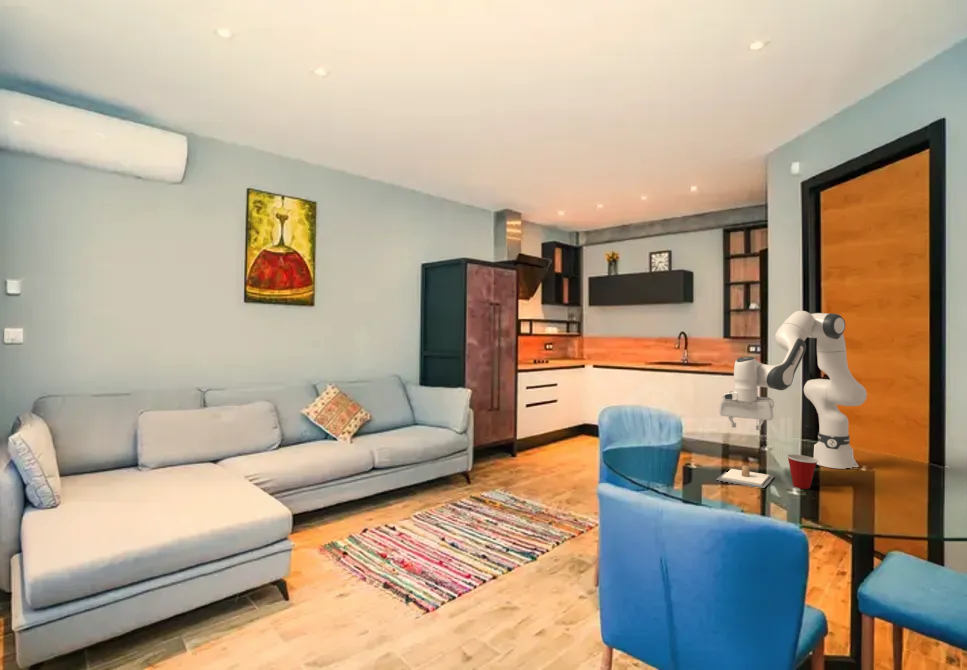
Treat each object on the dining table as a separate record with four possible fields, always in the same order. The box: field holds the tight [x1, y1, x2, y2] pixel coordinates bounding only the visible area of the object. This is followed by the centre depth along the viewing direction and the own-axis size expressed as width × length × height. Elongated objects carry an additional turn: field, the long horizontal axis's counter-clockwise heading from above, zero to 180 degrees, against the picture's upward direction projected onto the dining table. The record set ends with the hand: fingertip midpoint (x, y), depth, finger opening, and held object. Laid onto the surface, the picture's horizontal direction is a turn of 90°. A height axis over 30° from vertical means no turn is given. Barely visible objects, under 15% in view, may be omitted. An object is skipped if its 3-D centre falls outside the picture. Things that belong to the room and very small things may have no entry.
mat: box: [715, 468, 776, 489], centre depth 217 cm, size 20×18×1 cm
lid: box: [722, 464, 770, 486], centre depth 217 cm, size 15×15×5 cm
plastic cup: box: [786, 453, 818, 490], centre depth 206 cm, size 11×11×12 cm
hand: (746, 428), depth 217 cm, fingers open, 8 cm apart
